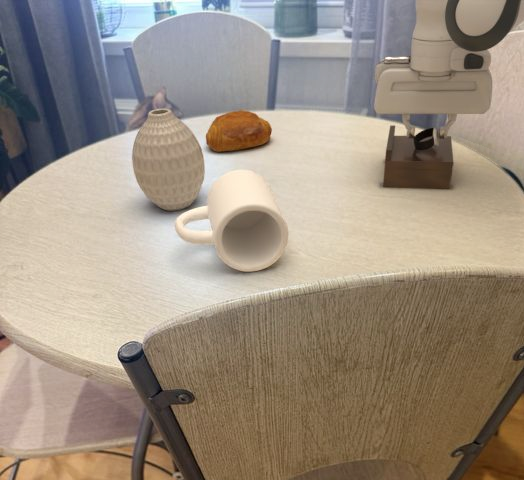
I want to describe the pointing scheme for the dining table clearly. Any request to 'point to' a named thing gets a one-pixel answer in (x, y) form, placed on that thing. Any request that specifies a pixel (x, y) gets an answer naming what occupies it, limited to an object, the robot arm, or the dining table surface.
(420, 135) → the watch
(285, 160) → the dining table surface
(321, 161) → the dining table surface
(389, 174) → the brown wooden box
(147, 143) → the vase
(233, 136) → the croissant
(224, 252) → the mug
